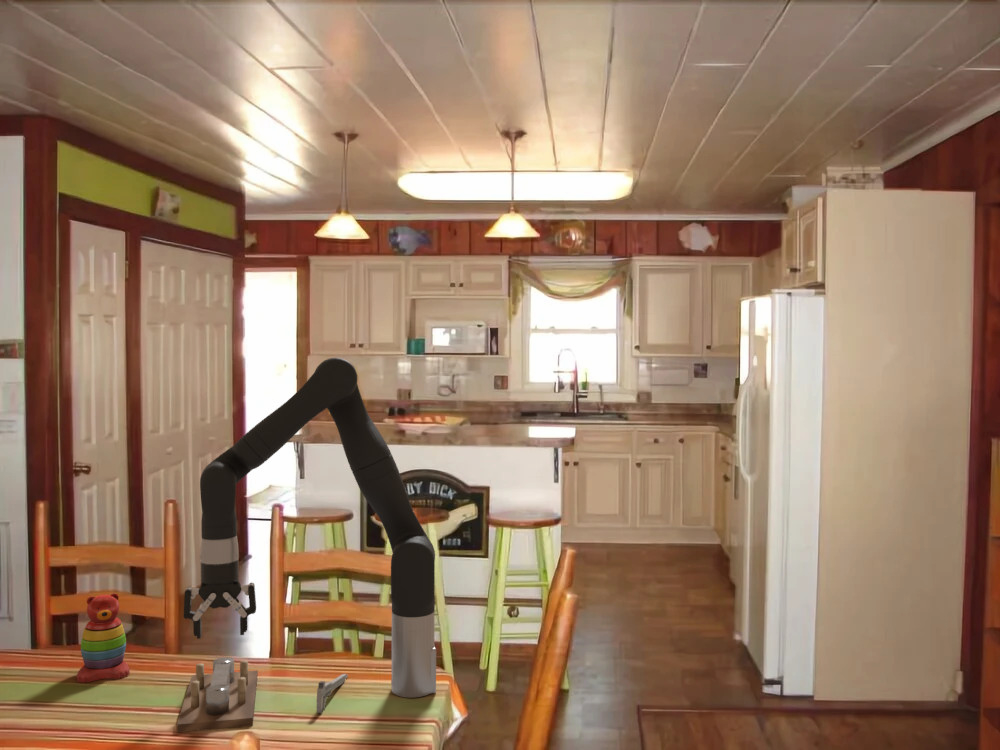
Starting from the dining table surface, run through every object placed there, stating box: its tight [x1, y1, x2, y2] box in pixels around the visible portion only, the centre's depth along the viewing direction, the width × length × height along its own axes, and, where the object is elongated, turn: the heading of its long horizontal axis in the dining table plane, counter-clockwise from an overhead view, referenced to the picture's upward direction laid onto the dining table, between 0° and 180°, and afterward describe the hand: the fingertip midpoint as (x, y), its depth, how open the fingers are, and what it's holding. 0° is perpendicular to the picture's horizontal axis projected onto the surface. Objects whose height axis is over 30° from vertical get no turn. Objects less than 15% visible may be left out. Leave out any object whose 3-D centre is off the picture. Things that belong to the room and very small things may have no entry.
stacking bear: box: [76, 593, 131, 684], centre depth 198 cm, size 11×10×18 cm
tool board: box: [176, 659, 259, 733], centre depth 182 cm, size 14×26×6 cm, turn 14°
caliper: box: [316, 673, 349, 714], centre depth 187 cm, size 20×1×6 cm, turn 175°
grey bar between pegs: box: [206, 656, 235, 716], centre depth 182 cm, size 4×20×4 cm, turn 13°
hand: (220, 635), depth 182 cm, fingers open, 8 cm apart
